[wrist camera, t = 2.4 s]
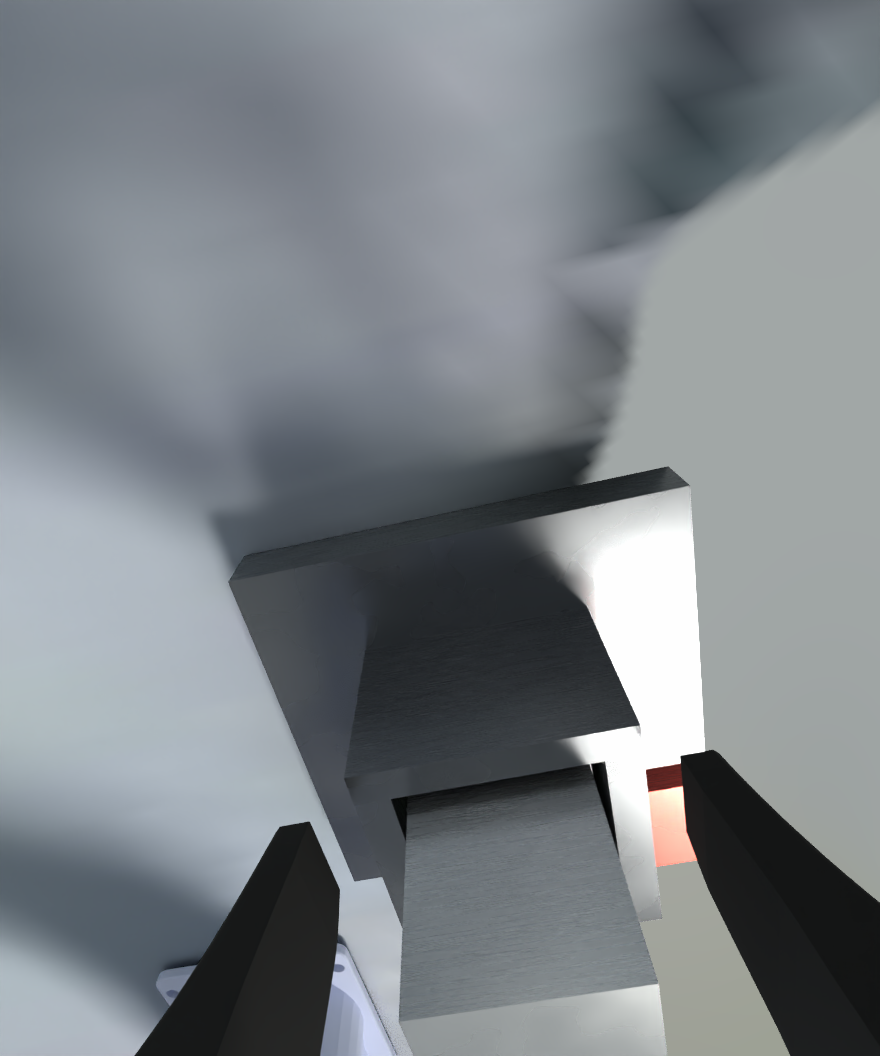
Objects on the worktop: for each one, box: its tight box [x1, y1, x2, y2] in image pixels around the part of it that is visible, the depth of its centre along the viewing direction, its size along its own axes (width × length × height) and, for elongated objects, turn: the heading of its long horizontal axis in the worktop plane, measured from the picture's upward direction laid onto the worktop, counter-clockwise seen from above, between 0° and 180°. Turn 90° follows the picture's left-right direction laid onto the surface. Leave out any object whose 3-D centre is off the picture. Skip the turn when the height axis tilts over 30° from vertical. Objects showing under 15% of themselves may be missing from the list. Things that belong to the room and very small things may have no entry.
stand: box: [228, 467, 705, 928], centre depth 16 cm, size 12×12×6 cm
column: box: [399, 764, 667, 1056], centre depth 14 cm, size 4×4×8 cm
